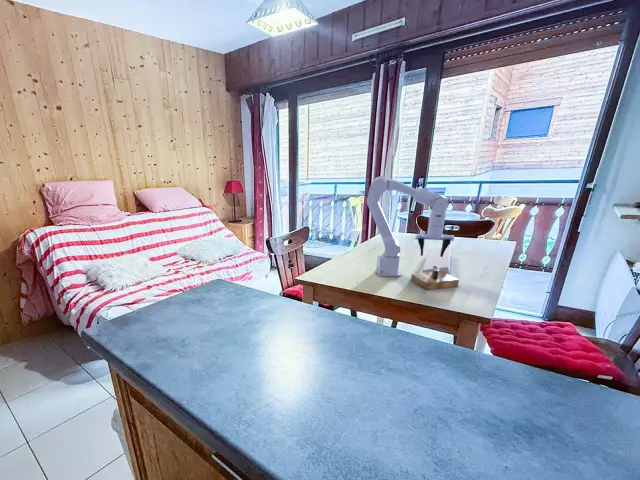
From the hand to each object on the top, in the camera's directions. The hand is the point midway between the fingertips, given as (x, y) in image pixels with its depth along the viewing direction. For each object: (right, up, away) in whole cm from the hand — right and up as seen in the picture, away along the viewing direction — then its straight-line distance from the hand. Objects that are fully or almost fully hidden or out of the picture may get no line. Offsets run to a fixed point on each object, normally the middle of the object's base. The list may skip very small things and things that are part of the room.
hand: (431, 255), depth 143 cm
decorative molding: (+12, -3, +16) cm, 20 cm away
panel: (-2, -12, -5) cm, 13 cm away
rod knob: (-2, -9, -6) cm, 11 cm away
